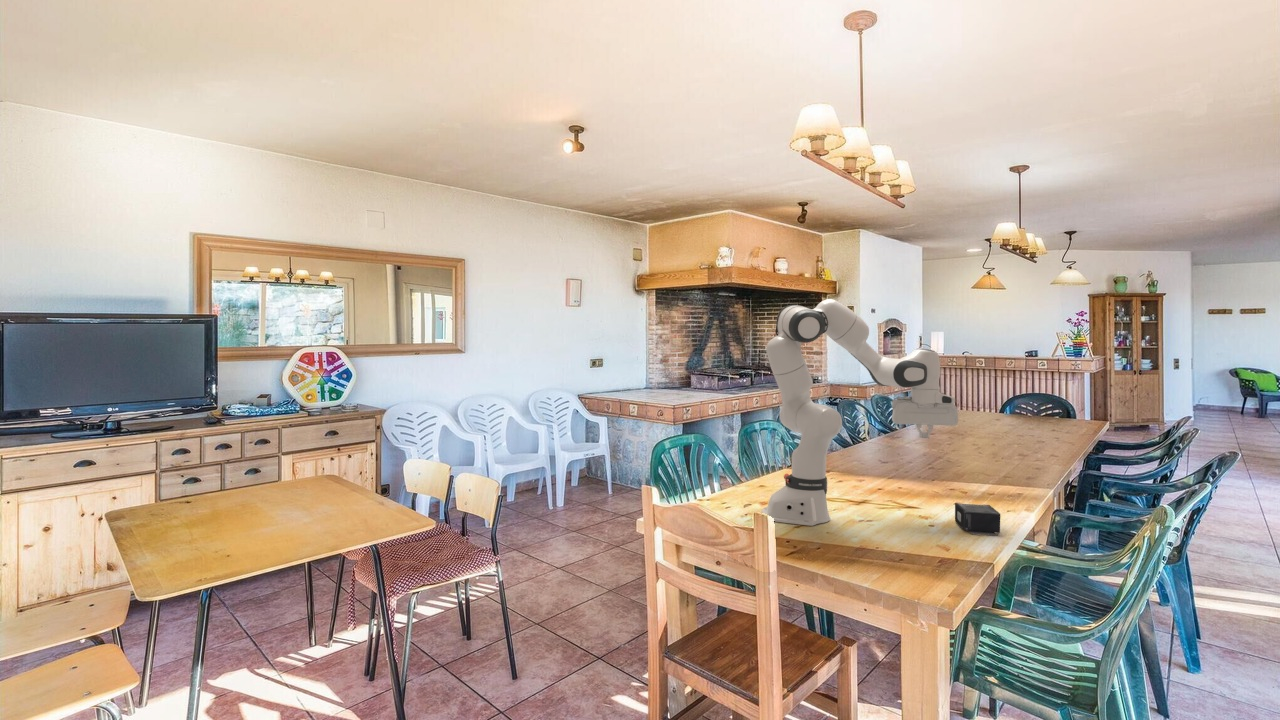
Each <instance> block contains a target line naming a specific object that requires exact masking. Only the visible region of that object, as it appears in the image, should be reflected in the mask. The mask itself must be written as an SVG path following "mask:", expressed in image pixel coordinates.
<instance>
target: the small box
mask: <svg viewBox="0 0 1280 720" xmlns="http://www.w3.org/2000/svg"><path fill="white" fill-rule="evenodd" d="M954 522H955V523H956V524H957V525H958V526H959V527H960V528H961V529H962V530H963V531H966V532H968V531H982V532H995V533H999V534H1000V532H1001V513H1000V512H999V511H998V510H997V509H995V508H994V507H993V506H991V505H990V504H973V503H972V504H970V503H960V502H958V503H957V502H955V503H954Z"/></svg>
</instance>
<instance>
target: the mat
mask: <svg viewBox="0 0 1280 720" xmlns="http://www.w3.org/2000/svg"><path fill="white" fill-rule="evenodd" d="M967 532H968V533H970V535H976V536H994V537H998V536H999V534H997V532H982V531H967Z"/></svg>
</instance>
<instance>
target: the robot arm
mask: <svg viewBox="0 0 1280 720" xmlns="http://www.w3.org/2000/svg"><path fill="white" fill-rule="evenodd" d="M823 334H825V335H826V336H828V337H829V338H830V339H831V340H832V341H834V342H835V343H836V344H838V345H839V346H841V347H842V348H843V349H844V350H845V351H847V352H848V353H849V354H850V355H851V356H852V357H854V358H855V360H857V361H858V362H859V363H860V364H861V365H862V366H863V367H864V368H865V369H866V370H867V372H868V373H869V375H870V377H871V378H872V380H873V382H874V383H876V384H877V385H878V386H881V387H892V388H893V387H894V388H900V389H901V388H902V389H908V388H910V396H896V397H895V398H893V399H892V402H891V408H892V414H891V420H892V422H893V423H894V424H895V425H915V429H916V430H917V432H918V438H919V439H930V434H931V432H933V429H934V426H946V427H947V426H949V427H950V426H951V427H952V426H953V427H954V426H957V424H958V423H959V412H958V411H959V410H958V407H957V405H955V403H956V398H955V397H953V396H951V395H948V394H946V393H945V392H944V393H943V392H942V393H941V387H940V383H939V381H940V377H941V360H940V359H941V358H940V355H939V353H938V352H937V351H935V350H932V349H927V348H926V349H925V348H914V350H913V351H912V352H910V353H909V354H906V355H905V356H903V357H900V358H895V357H894V358H893V357H889V356H888V357H886V356H883V355H881V354H880V353H878V352H877V350H875V349H874V348H873V347H872V346H871V345H870V344H869V343H868V342H867V340H868V338H869V336H870V327H869V325H868V324H867V323H866V321H864V319H863V318H862V317H861V316H859V315H858V314H857V313H855V312H854V311H853V310H852V309H851V308H849V307H847V306H846V305H844V304H842V303H841V302H839V301H837V300H835V299H834V298H827V299H824V300H822V301H821V302H819V303H818V304H817V305H816V306H815V307H814V308H809V307H806V306H803V305H798V304H788V305H786V306H783V307H782V308H781V309H780V310H779V312H778V314H777V315H776V325H775V335H776V336H774V337H772V338H771V339H770V340H769V341H768V342H767V344H766V348H765V349H766V354H767V360H768V362H769V366H770V369H771V371H772V372H771V373H772V374H773V377H774V380H775V382H776V384H777V387H778V390H779V392H780V398H781V403H782V404H781V405H782V406H781V407H780V410H779V415H778V416H779V422H780V423H781V424H782V426H784V427H785V428H787V429H788V430H790V431H792V432H794V433H797V434H798V433H799V434H801V436H800V442H799V444H798V446H797V447H796V448H795V449H793V451H792V454H791V474H789V473H784V474H783V479H784V480H785V485H784V486H783V487H780V489H778V490H777V491H775V492H773V494H771V495H770V497H769V500H768V503H767V506H766V507H764V508H762V509H761V514H762V513H765V514H767V515H769V516H771V517H772V518H774V520H775V522H774V523H776V522H777V523H785V524H792V525H801V526H809V527H810V526H811V527H813V526H816V525H819V524H824V523H827V522H829V521H831V517H830V513H829V509H828V503H827V494H828V493H827V492H828V477H827V474H826V473H827V457H828V450H829V448H830V445H831V443H832V441H833V439H834V437H836V436H837V435H838V434H839V433H840V431H841V429H842V427H843V418H842V415H841V414H840V412H839V411H838V410H836V409H835V408H832V407H831V406H829V405H825V404H822V403H816V402H814V401H813V400H812V398H811V391H810V390H811V389H812V388H813V385H814V381H813V378H812V375H811V373H810V371H809V368H808V365H807V362H806V360H805V357H804V356H803V354H802V353H803V352H802V344H808V343H812V342H814V341H816V340H818V338H819V337H821V336H822V335H823ZM922 425H923V426H926V427H927V430H926V431H925V432H923V431H922Z"/></svg>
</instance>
